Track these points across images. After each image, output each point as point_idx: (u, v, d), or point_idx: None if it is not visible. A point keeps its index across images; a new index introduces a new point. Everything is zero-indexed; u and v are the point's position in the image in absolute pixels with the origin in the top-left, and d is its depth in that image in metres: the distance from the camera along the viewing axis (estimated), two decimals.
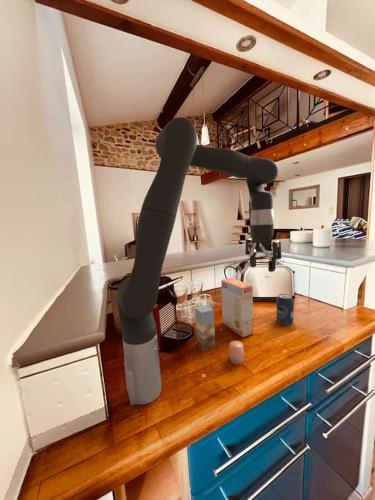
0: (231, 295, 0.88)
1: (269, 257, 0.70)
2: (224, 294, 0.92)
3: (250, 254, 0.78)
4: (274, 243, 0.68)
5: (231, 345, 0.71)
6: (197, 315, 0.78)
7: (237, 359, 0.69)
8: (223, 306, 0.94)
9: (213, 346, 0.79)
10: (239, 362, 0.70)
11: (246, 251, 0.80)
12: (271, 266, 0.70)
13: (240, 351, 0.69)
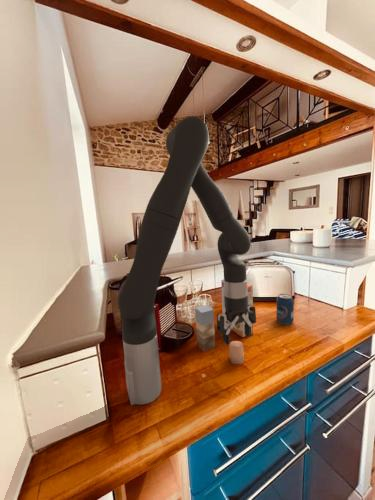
0: None
1: (250, 323, 0.71)
2: None
3: (228, 331, 0.67)
4: (254, 308, 0.71)
5: (231, 345, 0.71)
6: (197, 315, 0.78)
7: (237, 359, 0.69)
8: (223, 306, 0.94)
9: (213, 346, 0.79)
10: (239, 362, 0.70)
11: (222, 330, 0.66)
12: (250, 331, 0.72)
13: (240, 351, 0.69)
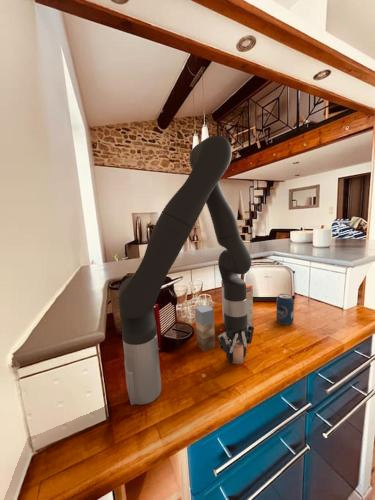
0: None
1: (245, 344, 0.71)
2: None
3: (231, 349, 0.69)
4: (253, 328, 0.72)
5: None
6: (197, 315, 0.78)
7: (237, 359, 0.69)
8: (223, 306, 0.94)
9: (213, 346, 0.79)
10: (239, 362, 0.70)
11: (226, 349, 0.68)
12: (245, 351, 0.72)
13: (240, 351, 0.69)
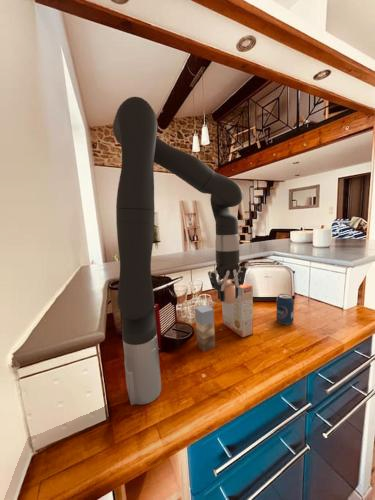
0: None
1: (237, 284, 0.70)
2: None
3: (222, 287, 0.67)
4: (245, 269, 0.70)
5: None
6: (197, 315, 0.78)
7: (229, 298, 0.68)
8: (223, 306, 0.94)
9: (213, 346, 0.79)
10: (231, 301, 0.68)
11: (216, 286, 0.66)
12: (237, 292, 0.71)
13: (231, 290, 0.67)
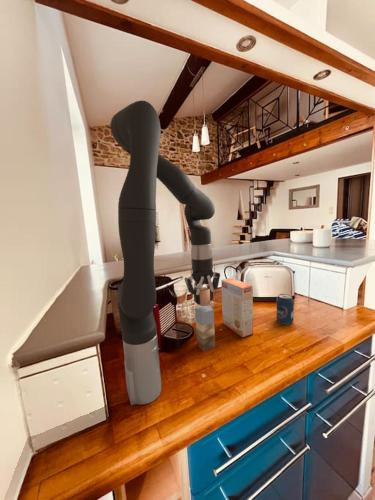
0: (231, 295, 0.88)
1: (211, 288, 0.77)
2: (224, 294, 0.92)
3: (198, 291, 0.75)
4: (219, 274, 0.78)
5: None
6: (197, 315, 0.78)
7: (203, 301, 0.75)
8: (223, 306, 0.94)
9: (213, 346, 0.79)
10: (206, 304, 0.76)
11: (192, 290, 0.74)
12: (212, 296, 0.78)
13: (206, 294, 0.75)
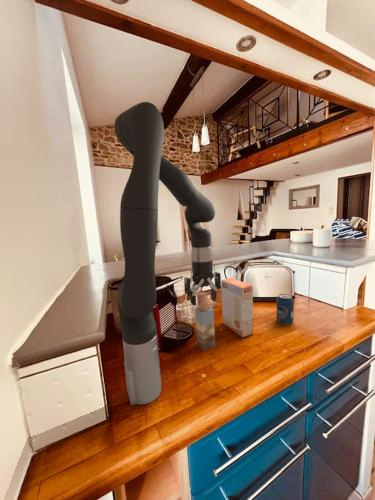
0: (231, 295, 0.88)
1: (215, 288, 0.78)
2: (224, 294, 0.92)
3: (194, 293, 0.74)
4: (219, 274, 0.78)
5: (198, 295, 0.77)
6: (197, 315, 0.78)
7: (203, 306, 0.76)
8: (223, 306, 0.94)
9: (213, 346, 0.79)
10: (205, 310, 0.76)
11: (189, 291, 0.73)
12: (215, 295, 0.79)
13: (205, 299, 0.75)
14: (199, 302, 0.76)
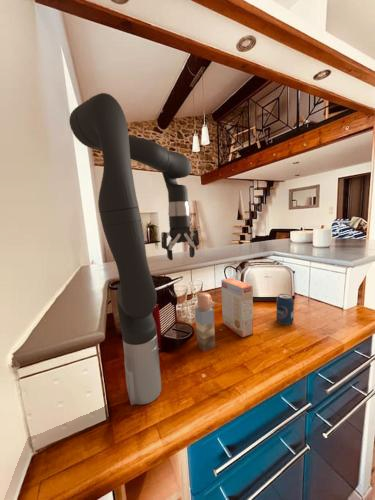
0: (231, 295, 0.88)
1: (192, 244, 0.80)
2: (224, 294, 0.92)
3: (170, 247, 0.76)
4: (197, 231, 0.80)
5: (198, 295, 0.77)
6: (197, 315, 0.78)
7: (204, 306, 0.76)
8: (223, 306, 0.94)
9: (213, 346, 0.79)
10: (206, 310, 0.76)
11: (165, 245, 0.75)
12: (193, 252, 0.81)
13: (206, 299, 0.75)
14: (199, 302, 0.76)
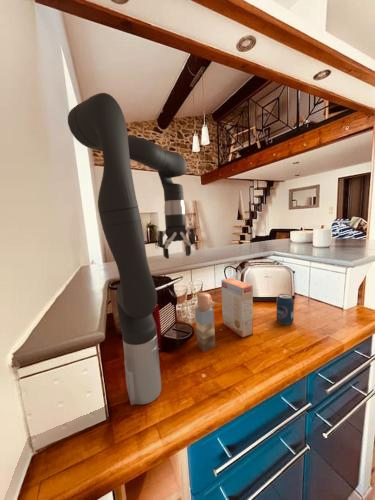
0: (231, 295, 0.88)
1: (188, 243, 0.80)
2: (224, 294, 0.92)
3: (167, 245, 0.77)
4: (192, 229, 0.80)
5: (198, 295, 0.77)
6: (197, 315, 0.78)
7: (203, 306, 0.76)
8: (223, 306, 0.94)
9: (213, 346, 0.79)
10: (206, 309, 0.76)
11: (161, 243, 0.76)
12: (189, 250, 0.81)
13: (206, 299, 0.75)
14: (199, 302, 0.76)
